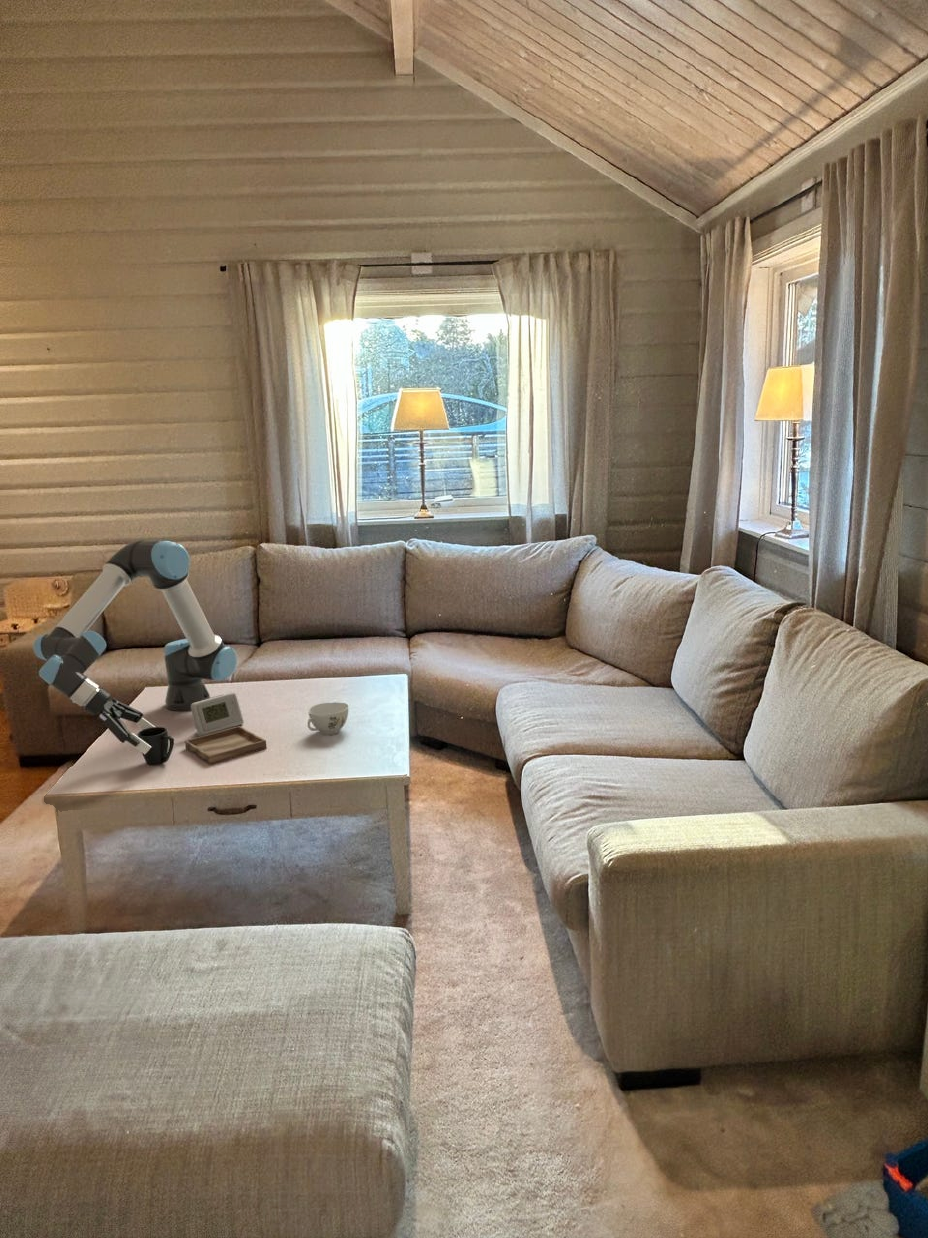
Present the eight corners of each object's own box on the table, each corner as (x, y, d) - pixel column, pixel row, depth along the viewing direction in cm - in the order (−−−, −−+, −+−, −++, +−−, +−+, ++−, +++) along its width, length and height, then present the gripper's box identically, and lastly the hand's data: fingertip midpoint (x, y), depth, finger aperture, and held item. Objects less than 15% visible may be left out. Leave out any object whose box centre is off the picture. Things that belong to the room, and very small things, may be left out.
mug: (163, 771, 254) (159, 740, 252) (135, 765, 260) (131, 734, 258) (185, 761, 261) (182, 730, 258) (158, 755, 267) (154, 725, 265)
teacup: (332, 722, 288) (330, 698, 286) (358, 729, 280) (356, 705, 278) (295, 736, 277) (293, 711, 275) (322, 744, 269) (320, 719, 267)
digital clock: (197, 739, 279) (193, 706, 276) (189, 731, 286) (186, 699, 284) (248, 727, 287) (244, 696, 285) (239, 720, 295) (235, 689, 292)
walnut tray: (185, 748, 271) (184, 741, 270) (240, 733, 282) (239, 726, 281) (210, 764, 257) (209, 756, 257) (266, 748, 268) (265, 740, 268)
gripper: (94, 694, 265) (152, 736, 270) (71, 721, 241) (135, 768, 246) (110, 675, 264) (168, 718, 270) (88, 701, 240) (153, 748, 246)
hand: (152, 742), depth 258 cm, fingers open, 13 cm apart
